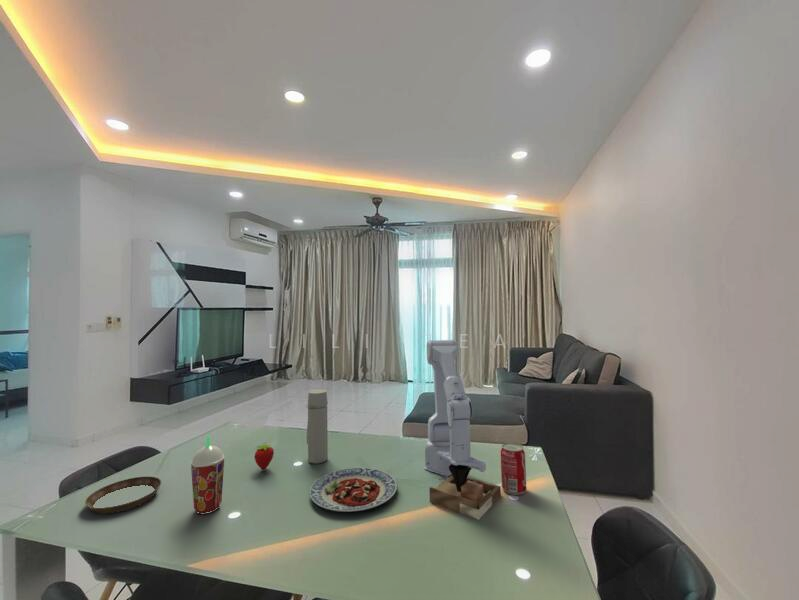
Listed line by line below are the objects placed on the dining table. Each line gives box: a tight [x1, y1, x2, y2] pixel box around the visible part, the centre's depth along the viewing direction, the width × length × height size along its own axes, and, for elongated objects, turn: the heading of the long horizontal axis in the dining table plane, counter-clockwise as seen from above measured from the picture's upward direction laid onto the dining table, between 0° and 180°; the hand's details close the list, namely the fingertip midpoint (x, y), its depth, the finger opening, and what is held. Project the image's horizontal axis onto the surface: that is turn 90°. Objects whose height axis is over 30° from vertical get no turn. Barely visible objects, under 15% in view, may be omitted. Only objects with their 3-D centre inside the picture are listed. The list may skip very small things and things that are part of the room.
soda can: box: [500, 442, 527, 496], centre depth 107 cm, size 7×7×13 cm
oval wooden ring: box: [84, 476, 162, 514], centre depth 105 cm, size 18×18×3 cm
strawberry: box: [254, 443, 275, 471], centre depth 123 cm, size 6×8×10 cm
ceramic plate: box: [309, 467, 398, 513], centre depth 107 cm, size 26×26×3 cm
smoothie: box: [190, 435, 226, 513], centre depth 99 cm, size 8×8×20 cm
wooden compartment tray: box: [429, 474, 502, 520], centre depth 103 cm, size 15×15×4 cm
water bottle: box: [305, 389, 329, 464], centre depth 131 cm, size 9×8×25 cm
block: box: [461, 480, 483, 502], centre depth 99 cm, size 4×4×3 cm
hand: (460, 490), depth 101 cm, fingers closed
